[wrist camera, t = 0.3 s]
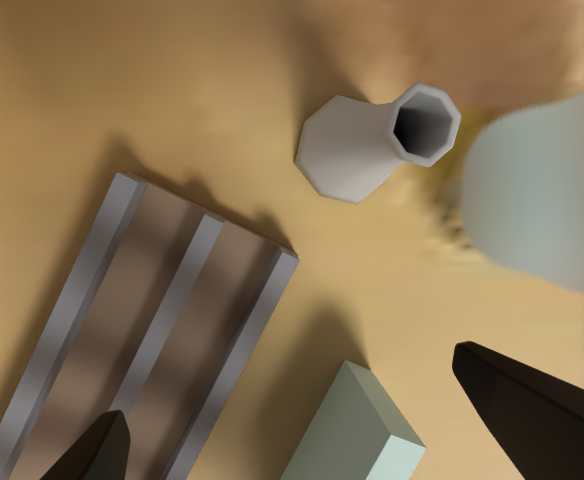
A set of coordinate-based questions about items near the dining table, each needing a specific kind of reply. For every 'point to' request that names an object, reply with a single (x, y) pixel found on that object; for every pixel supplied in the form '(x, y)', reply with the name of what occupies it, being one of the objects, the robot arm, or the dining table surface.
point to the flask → (374, 140)
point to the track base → (146, 333)
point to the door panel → (356, 434)
